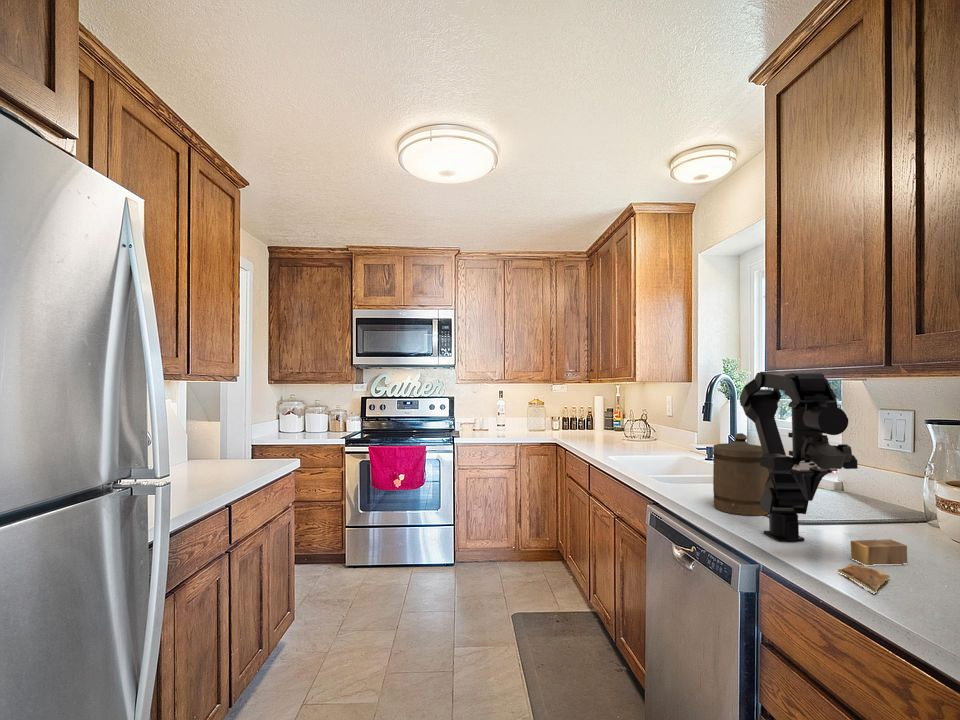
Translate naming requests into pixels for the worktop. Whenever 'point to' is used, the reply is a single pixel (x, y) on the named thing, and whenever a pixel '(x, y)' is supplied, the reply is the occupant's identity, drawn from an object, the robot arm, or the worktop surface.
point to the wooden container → (738, 477)
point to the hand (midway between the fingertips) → (808, 500)
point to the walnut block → (878, 552)
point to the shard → (865, 576)
